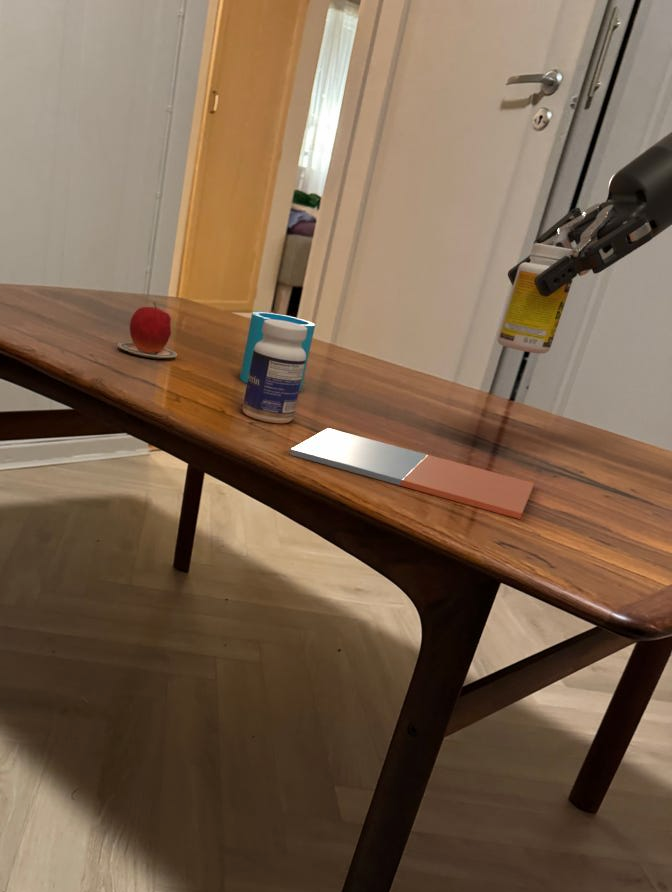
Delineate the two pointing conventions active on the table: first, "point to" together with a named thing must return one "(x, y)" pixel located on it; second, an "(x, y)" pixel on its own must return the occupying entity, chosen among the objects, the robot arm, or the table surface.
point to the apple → (149, 333)
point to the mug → (257, 335)
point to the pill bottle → (276, 372)
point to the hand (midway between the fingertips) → (525, 284)
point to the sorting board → (417, 471)
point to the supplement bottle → (533, 304)
